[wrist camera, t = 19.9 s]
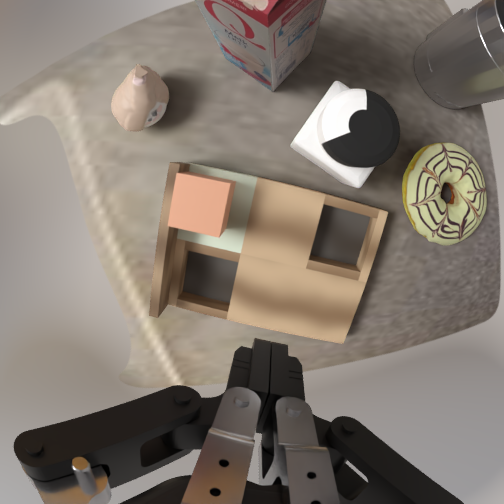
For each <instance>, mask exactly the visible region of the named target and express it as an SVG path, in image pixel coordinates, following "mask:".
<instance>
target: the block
mask: <svg viewBox="0 0 504 504" xmlns="http://www.w3.org/2000/svg"><path fill="white" fill-rule="evenodd" d="M235 184H236V181H233V180H228V179H224V178H219V177H214V176H209V175H204V174H199V173H194V172H179V173H177V174H176V179H175V185H174V190H173V196H172V202H171V208H170V214H169V220H168V226H170V227H175V228H179V229H183V230H188V231H192V232H196V233H201V234H205V235H209V236H214V237H218V238H220V236H221V235H222V234H223V232H224V231H225V230H226V227H227V222H228V218H229V213H230V208H231V203H232V198H233V194H234V189H235Z"/></svg>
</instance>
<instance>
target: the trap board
mask: <svg viewBox="0 0 504 504" xmlns="http://www.w3.org/2000/svg"><path fill="white" fill-rule="evenodd" d="M179 172H194V173H199V174H204V175H209V176H214V177H219V178H224V179H228V180H233V181H236V184H235V189H234V194H233V198H232V203H231V208H230V213H229V218H228V222H227V227H226V230H225V231H224V232H223V234H222V235H221V236H220V238H218V237H214V236H209V235H205V234H201V233H196V232H192V231H188V230H183V229H179V228H175V227H170V226H168V220H169V214H170V208H171V202H172V196H173V190H174V185H175V179H176V174H177V173H179ZM387 214H388V212H387V211H384V210H382V209H380V208H376V207H373V206H370V205H366V204H363V203H359V202H356V201H352V200H349V199H345V198H342V197H338V196H334V195H331V194H327V193H323V192H319V191H315V190H312V189H308V188H304V187H300V186H296V185H292V184H287V183H283V182H279V181H275V180H271V179H266V178H262V177H257V176H253V175H248V174H244V173H239V172H234V171H229V170H225V169H220V168H215V167H209V166H204V165H199V164H194V163H188V162H170V164H169V170H168V175H167V181H166V186H165V192H164V198H163V204H162V211H161V217H160V224H159V231H158V238H157V246H156V254H155V262H154V271H153V280H152V290H151V300H150V312H149V316H153V317H156V318H158V317H159V316H160V314H161V313H162V312H163V310H164V309H165V308H166V306H167V305H168V304H169V305H172V306H176V307H180V308H183V309H187V310H191V311H195V312H199V313H202V314H206V315H210V316H214V317H218V318H222V319H227V320H231V321H235V322H239V323H243V324H248V325H252V326H257V327H261V328H266V329H270V330H275V331H279V332H284V333H289V334H294V335H299V336H304V337H309V338H314V339H320V340H325V341H330V342H336V343H342V344H343V343H344V340H345V338H346V335H347V333H348V330H349V328H350V325H351V323H352V320H353V318H354V315H355V312H356V310H357V307H358V304H359V302H360V299H361V296H362V293H363V290H364V288H365V285H366V282H367V279H368V276H369V273H370V270H371V267H372V264H373V261H374V258H375V255H376V252H377V248H378V245H379V242H380V239H381V235H382V232H383V228H384V225H385V222H386V218H387Z"/></svg>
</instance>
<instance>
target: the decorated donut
mask: <svg viewBox="0 0 504 504" xmlns="http://www.w3.org/2000/svg"><path fill="white" fill-rule="evenodd" d="M444 183H446V184H448V186H449V187H450V190H451V193H452V196H451V200H450V201H449V202H448V203H447V204H446V203H445V201H444V200H442V199H441V197H440V195H441V191H442V186H443V184H444ZM402 197H403V204H404V208H405V211H406V213H407V215H408V217H409V219H410V221H411V223H412V225H413V227H414V229H415V230H416V231H417V232H418V233H419V234H421V235H423V236H424V237H425V238H427V239H428V241H429V242H436V243H438V244H441V245H452V244H455V243H457V242H460V241H462V240H464V239H465V238H467V237H468V236H469V235H471V234H472V232H473V231H474V230H475V229H476V228H477V227H478V225H479V224H480V222H481V220H482V218H483V215H484V214H485V211H486V205H487V198H486V188H485V182H484V177H483V174H482V172H481V170H480V168H479V166H478V164H477V162H476V161H475V160H474V158H473V157H472V156H471V155H470V154H469V153H468V152H467V151H466V150H464V149H463V148H462V147H460V146H457V145H456V144H453V143H434V144H430V145H427V146H425V147H423V148H421V149H420V150H419V151H418V152H417V153H416V154H415V156H414V157H413V158H412V160H411V162H410V163H409V164H408V167H407V169H406V171H405V173H404V175H403V182H402Z"/></svg>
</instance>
